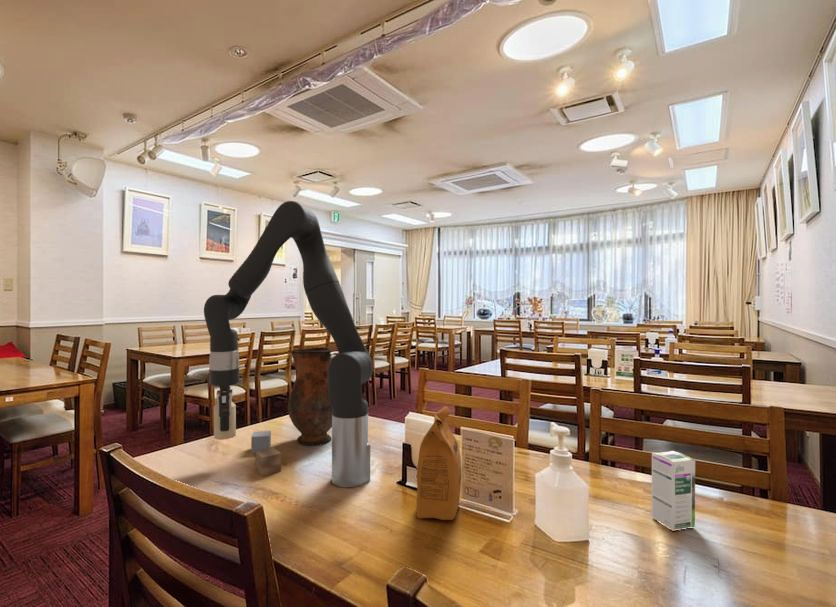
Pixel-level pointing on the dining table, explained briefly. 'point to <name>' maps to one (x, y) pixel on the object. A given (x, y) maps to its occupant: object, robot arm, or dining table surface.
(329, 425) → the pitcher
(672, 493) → the syrup box
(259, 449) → the slate block
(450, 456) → the coffee package
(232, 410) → the candle
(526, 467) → the dining table surface
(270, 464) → the walnut block
